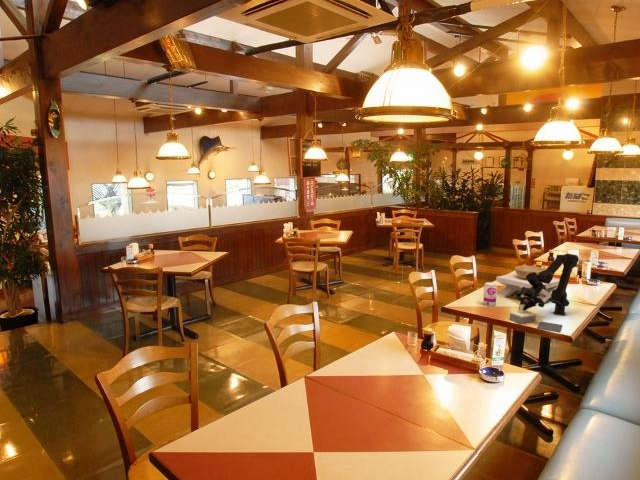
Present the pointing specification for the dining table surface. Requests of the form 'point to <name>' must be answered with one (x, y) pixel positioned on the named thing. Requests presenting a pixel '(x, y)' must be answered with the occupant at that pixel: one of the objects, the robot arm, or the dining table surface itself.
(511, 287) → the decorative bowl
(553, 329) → the rubber mat
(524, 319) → the storage box
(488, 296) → the supplement can
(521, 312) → the lid
